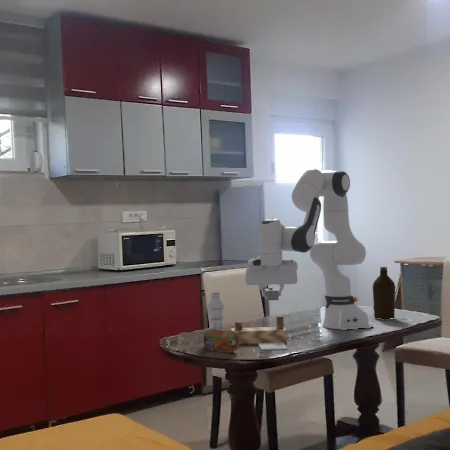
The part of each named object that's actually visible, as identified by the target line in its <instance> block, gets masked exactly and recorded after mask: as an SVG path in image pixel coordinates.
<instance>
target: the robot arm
mask: <svg viewBox="0 0 450 450" xmlns="http://www.w3.org/2000/svg"><path fill="white" fill-rule="evenodd" d="M350 186H351V179H350V176H349V175H348V173H347V172H346V171H344V170H323V171H321V170H319V169H317V168H309V169H307V170H306V171H305V172H304V173H303V174H302V175H301V177H300V178H298V181H297V183H296V184H295V187H294V188H293V189H292V191H291V192H292V193H291V201H292V203H293V204H294V206H295V207H296V208H297V209H298V210H300V211H302V212H305V217H304V221H303V222H302V224H301V225H298V226H286V225H284V224H282V223H281V220H280V219H279V218H274V217H273V218H267V219H263V220H262V221H260V225H259V230H258V231H259V235H258V239H259V240H258V242H259V253H258V254H259V256H256V257H253V258H250V259H248V261H247V264H248V266H247V267H246V269H245V276H244V282H245V284H246V285H247V286H258V288H259V290H260V292H261V296H262V297H264V298H265V296H266V291H265V290H264V289H263V288H264V286H266V285H267V286H268V285H269V286H270V285H271V286H272V285H279V287H280V288H279V289H278V291H279V297H282V291H283V290H284V288H285V285H295V284H297V283H298V273H297V272H298V263H297V262H296V261H294V259H289V260H288V259H287V260H286V259H284V260H283V252H298V253H304V254H305V253H308V252H309V257H310V258H311V261H312V262H313V263H315V264H316V265H317V266H318V268H319V269H320V270H321V272H322V274H323V277H324V284H325V285H324V286H325V295H324V307H325V311H324V318H323V323H322V327H323V328H326V329H333V330H339V329H340V330H341V331H348V330H347V329H353V330H359V329H358V328H366V329H372V328H371V327H373V328H374V324H373V323H372V322H370V321H369V317H368V314H367V312H366V311H365V310H364V309H362V308H361V307H359V306H358V305H357V304H356V302H358V301H359V298H358V297H357V296H352V295H351V279H350V277H349V276H348V275H347V274H345V273H344V272H342V271H341V270H340V269H339V266H355V265H360V264H361V265H362V263H363V262H364V261H365V259H366V257H367V251H366V247H365V246H364V244H363V243H362V242H360V241H359V240H358V239H357V238H356V237H355V236H354V234H353V232H352V230H351V226H350V217H349V216H350V215H349V203H348V197H347V196H348V195H347V193H348V191H349V190H350ZM320 197H324V198H323V209H322V204H321V199H319V198H320ZM322 210H323V226H324V229H325V230H326V231H327V232H329V233H331V234H332V235H334V236H335V239H336V240H320V241H316V242H315V240H316V239H315V238H316V237H315V236H316V235H315V234H316V230H317V227H318V223H319V219H320V217H321V216H320V215H321V211H322ZM340 330H339V331H340Z"/></svg>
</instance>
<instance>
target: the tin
mask: <svg viewBox="0 0 450 450" xmlns="http://www.w3.org/2000/svg"><path fill="white" fill-rule="evenodd" d="M203 343H204V344H203V345H204V346H205V348H206V349H207V350H209V351H210V352H214V351H215V352H217V353H222V352H223V353H222V354H230V353H234V352H236V351H237V350H238V349H239V347H240V344H239V337H238V335H237V334H236V333H235V332H234V331H231V329H229V330H228V329H223V330H220V329H210V330H209V329H207V330H206V331H205V333H204V335H203Z"/></svg>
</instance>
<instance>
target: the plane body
mask: <svg viewBox="0 0 450 450" xmlns="http://www.w3.org/2000/svg"><path fill="white" fill-rule="evenodd" d="M275 318H276V326H263V327H261V326H259V327H243V322H242V321H234V327H233V328H232V327H231V328H230V330H231V331H234V332H235V333H236V334H237V335H238V337H239V345H245V344H247V345H248V344H249V345H251V344H258V343H277V342H283V343H287V341H288V340H287V337H288V334H287V330H288V329H286V328H285V327H284V326H285V323H284V322H285V321H284V318H285V317H284V315H276V317H275Z"/></svg>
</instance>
